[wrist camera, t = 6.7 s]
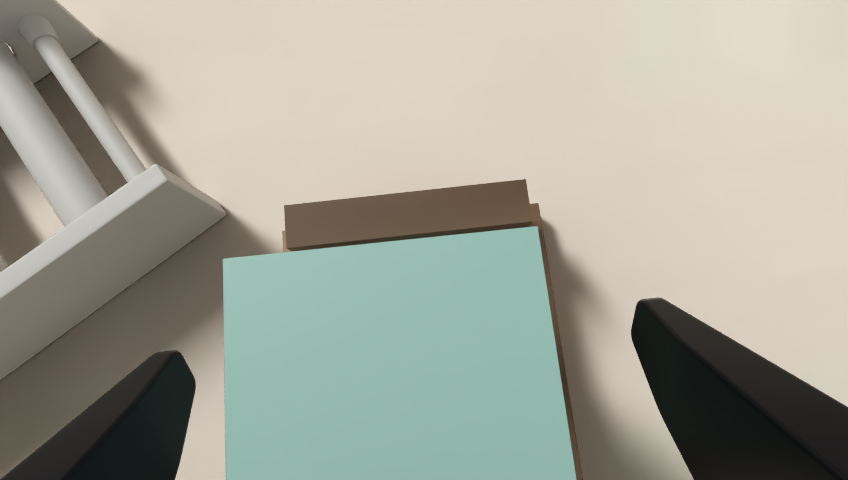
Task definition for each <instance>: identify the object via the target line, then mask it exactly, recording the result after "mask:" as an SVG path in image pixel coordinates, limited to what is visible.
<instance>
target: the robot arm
mask: <svg viewBox="0 0 848 480" xmlns="http://www.w3.org/2000/svg"><path fill="white" fill-rule="evenodd" d="M631 336H632V341H633V344H634V347H635V349H636V352H637V354H638V357H639V360H640V362H641V365H642V368H643V370H644V373H645V375H646V378H647V381H648V383H649V386H650V389H651V391H652V394H653V396H654V399H655V402H656V404H657V406H658V409H659V411H660V414H661V416H662V418H663V420H664V422H665V424H666V426H667V428H668V430H669V432H670V434H671V436H672V438H673V440H674V442H675V443H676V445H677V447H678V449H679V451H680V453H681V455H682V457H683V459H684V461H685V463H686V465H687V467H688V469H689V471H690V473H691V475H692V477H693V478H694V480H848V407H847V406H845V405H843V404H842V403H840V402H838V401H837V400H835V399H833V398H832V397H830V396H828V395H826V394H825V393H823V392H821V391H820V390H818V389H816V388H814V387H813V386H811V385H809V384H808V383H806V382H804V381H803V380H801V379H799V378H797V377H796V376H794V375H792V374H791V373H789V372H787V371H785V370H784V369H782V368H780V367H779V366H777V365H775V364H774V363H772V362H770V361H768V360H767V359H765V358H763V357H762V356H760V355H758V354H757V353H755V352H753V351H751V350H750V349H748V348H746V347H745V346H743V345H741V344H739V343H738V342H736V341H734V340H733V339H731V338H729V337H728V336H726V335H724V334H722V333H721V332H719V331H717V330H716V329H714V328H712V327H710V326H709V325H707V324H705V323H704V322H702V321H700V320H699V319H697V318H695V317H693V316H692V315H690V314H688V313H687V312H685V311H683V310H681V309H680V308H678V307H676V306H675V305H673V304H671V303H670V302H668V301H666V300H664V299H662V298H650V299H642V300H640V301H638V303H637V305H636V310H635V314H634V319H633V324H632V329H631ZM195 388H196V384H195V378H194V376H193V374H192V372H191V370H190V369H189V367H188V365H187V363H186V361H185V359H184V358H183V356H182V354H181V353H180V352H178V351H175V350H173V351H164V352H157V353H155V354H153V355H152V356H151V357H149V358H148V359H147V360H146V361H144V362H143V363H142V364H141V365H140V366H138V367H137V368H136V369H135V370H133V371H132V372H131V373H130V374H129V375H127V376H126V377H125V378H124V379H122V380H121V381H120V382H119V383H118V384H116V385H115V386H114V387H113V388H111V389H110V390H109V391H108V392H107V393H105V394H104V395H103V396H102V397H100V398H99V399H98V400H97V401H96V402H94V403H93V404H92V405H91V406H89V407H88V408H87V409H86V410H85V411H83V412H82V413H81V414H80V415H78V416H77V417H76V418H75V419H74V420H72V421H71V422H70V423H69V424H68V425H66V426H65V427H64V428H63V429H61V430H60V431H59V432H58V433H57V434H55V435H54V436H53V437H52V438H50V439H49V440H48V441H47V442H46V443H44V444H43V445H42V446H41V447H39V448H38V449H37V450H36V451H35V452H33V453H32V454H31V455H30V456H28V457H27V458H26V459H25V460H24V461H22V462H21V463H20V464H19V465H17V466H16V467H15V468H14V469H13V470H11V471H10V472H9V473H8V474H6V475H5V476H4V477H3V478H2V479H0V480H175V477H176V474H177V470H178V467H179V463H180V459H181V455H182V451H183V446H184V441H185V437H186V432H187V427H188V422H189V418H190V413H191V408H192V403H193V399H194V394H195Z"/></svg>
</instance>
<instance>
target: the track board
mask: <svg viewBox="0 0 848 480" xmlns="http://www.w3.org/2000/svg"><path fill="white" fill-rule="evenodd" d="M284 210H285V231H282V233H283V252H292V251H302V250H312V249H321V248H331V247H341V246H350V245H360V244H370V243H379V242H389V241H399V240H408V239H418V238H428V237H437V236H447V235H457V234H466V233H476V232H486V231H495V230H505V229H515V228H524V227H534V226H538V233H539V239H540V246H541V252H542V259H543V265H544V272H545V278H546V285H547V291H548V298H549V304H550V311H551V317H552V324H553V330H554V337H555V343H556V350H557V356H558V363H559V369H560V376H561V382H562V389H563V395H564V402H565V408H566V415H567V421H568V428H569V434H570V441H571V447H572V454H573V460H574V467H575V473H576V480H583V478H582V472H581V465H580V459H579V453H578V447H577V441H576V434H575V428H574V422H573V416H572V409H571V403H570V397H569V391H568V385H567V378H566V372H565V366H564V360H563V354H562V347H561V341H560V335H559V329H558V322H557V316H556V310H555V304H554V298H553V291H552V285H551V279H550V273H549V267H548V260H547V254H546V248H545V242H544V236H543V229H542V223H541V217H540V211H539V204H538V203H535V204H529V197H528V191H527V185H526V179H524V180H515V181H505V182H496V183H487V184H478V185H469V186H460V187H450V188H441V189H432V190H423V191H414V192H404V193H395V194H386V195H377V196H368V197H358V198H349V199H340V200H331V201H322V202H312V203H303V204H294V205H285V206H284Z"/></svg>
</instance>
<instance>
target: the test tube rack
mask: <svg viewBox="0 0 848 480" xmlns="http://www.w3.org/2000/svg"><path fill="white" fill-rule="evenodd" d="M98 41H99V40H98V38H97V37H96V36H95V35H94V34H93V33H92V32H91V31H90V30H89V29H88V28H87V27H85V26H84V25H83V24H82V23H81V22H80V21H79V20H78V19H76V18H75V17H74V16H73V15H72V14H71V13H70V12H68V11H67V10H66V9H65V8H64V7H63V6H62V5H61V4H59V3H58V2H57V1H56V0H0V126H1V128H2V129H3V131H4V133H5V134H6V136H7V137H8V139H9V140H10V142H11V144H12V145H13V147H14V148H15V150H16V152H17V153H18V155H19V156H20V158H21V159H22V161H23V163H24V164H25V166H26V167H27V169H28V170H29V172H30V174H31V175H32V177H33V178H34V180H35V182H36V183H37V185H38V186H39V188H40V189H41V191H42V193H43V194H44V196H45V197H46V199H47V200H48V202H49V204H50V205H51V207H52V208H53V210H54V211H55V213H56V215H57V216H58V218H59V219H60V221H61V222H62V223H63V225H64V226H65V227H64V228H63V229H61V230H60V231H59V232H57V233H56V234H54V235H53V236H51V237H50V238H49V239H47V240H46V241H44V242H43V243H42V244H40V245H39V246H37V247H36V248H34V249H33V250H32V251H30V252H29V253H27V254H26V255H24V256H23V257H22V258H20V259H19V260H17V261H16V262H15V263H13V264H12V265H10V266H9V267H7V266H6V264H5V263H4V261H3V259H2V257H1V256H0V380H1V379H3V378H4V377H6V376H7V375H8V374H10V373H11V372H12V371H14V370H15V369H17V368H18V367H19V366H21V365H22V364H23V363H25V362H26V361H27V360H29V359H30V358H32V357H33V356H34V355H36V354H37V353H38V352H40V351H41V350H43V349H44V348H45V347H47V346H48V345H49V344H51V343H52V342H53V341H55V340H56V339H58V338H59V337H60V336H62V335H63V334H64V333H66V332H67V331H69V330H70V329H71V328H73V327H74V326H75V325H77V324H78V323H79V322H81V321H82V320H84V319H85V318H86V317H88V316H89V315H90V314H92V313H93V312H95V311H96V310H97V309H99V308H100V307H101V306H103V305H104V304H105V303H107V302H108V301H110V300H111V299H112V298H114V297H115V296H116V295H118V294H119V293H121V292H122V291H123V290H125V289H126V288H127V287H129V286H130V285H131V284H133V283H134V282H136V281H137V280H138V279H140V278H141V277H142V276H144V275H145V274H147V273H148V272H149V271H151V270H152V269H153V268H155V267H156V266H157V265H159V264H160V263H162V262H163V261H164V260H166V259H167V258H168V257H170V256H171V255H173V254H174V253H175V252H177V251H178V250H179V249H181V248H182V247H184V246H185V245H186V244H188V243H189V242H190V241H192V240H193V239H194V238H196V237H197V236H199V235H200V234H201V233H203V232H204V231H205V230H207V229H208V228H210V227H211V226H212V225H214V224H215V223H216V222H218V221H219V220H220V219H222V218H223V217H225V216H226V212H225V211H224V210H223V208H222V207H221V206H220V204H219V203H218V202H217V201H216V200H214V199H213V198H211V197H210V196H208V195H206V194H205V193H203V192H202V191H200V190H198V189H197V188H195V187H193V186H192V185H190V184H189V183H187V182H185V181H184V180H182V179H180V178H179V177H177V176H176V175H174V174H172V173H171V172H169V171H168V170H166V169H164V168H163V167H161V166H159V165H158V164H154V165H152V166H151V167H149V168H148V169H147V170H146V168H145V167H144V165H143V164H142V162H141V161H140V160H139V158H138V157H137V155H136V154H135V152H134V151H133V150H132V148H131V147H130V145H129V144H128V142H127V141H126V139H125V138H124V137H123V135H122V134H121V132H120V131H119V129H118V128H117V126H116V125H115V124H114V122H113V121H112V119H111V118H110V116H109V115H108V114H107V112H106V111H105V109H104V108H103V106H102V105H101V103H100V102H99V101H98V99H97V98H96V96H95V95H94V93H93V92H92V91H91V89H90V88H89V86H88V85H87V83H86V82H85V80H84V79H83V78H82V76H81V75H80V73H79V72H78V70H77V69H76V67H75V66H74V65H73V63H72V62H71V59H72V58H74V57H75V56H77V55H78V54H80V53H81V52H83V51H84V50H86V49H87V48H89V47H90V46H92V45H93V44H95V43H96V42H98ZM6 43H7V44H8V45H9V46H10V47H11V48H12V51H13V53H14V54H13V53H12V51H11V50H10V48H9V47H8V45H7V44H6ZM51 72H53V74H54V75H55V77H56V78H57V80H58V81H59V83H60V84H61V86H62V87H63V89H64V90H65V92H66V93H67V94H68V96H69V97H70V99H71V100H72V102H73V103H74V105H75V106H76V108H77V109H78V111H79V112H80V114H81V115H82V116H83V118H84V119H85V121H86V122H87V124H88V125H89V127H90V128H91V130H92V131H93V133H94V134H95V136H96V137H97V139H98V140H99V141H100V143H101V144H102V146H103V147H104V149H105V150H106V152H107V153H108V155H109V156H110V158H111V159H112V161H113V162H114V164H115V165H116V166H117V168H118V169H119V171H120V172H121V174H122V175H123V177H124V178H125V180H126V181H127V184H125V185H124V186H122V187H121V188H120V189H118V190H117V191H115V192H114V193H112V194H111V195H110V196H107V194H106V193H105V191H104V190H103V188H102V187H101V185H100V184H99V182H98V181H97V179H96V178H95V176H94V175H93V173H92V172H91V170H90V169H89V167H88V166H87V164H86V163H85V161H84V160H83V158H82V157H81V155H80V154H79V152H78V151H77V149H76V148H75V146H74V145H73V143H72V142H71V140H70V139H69V137H68V136H67V134H66V133H65V131H64V130H63V128H62V127H61V125H60V124H59V122H58V121H57V119H56V118H55V116H54V114H53V113H52V111H51V110H50V108H49V107H48V105H47V104H46V102H45V101H44V99H43V98H42V96H41V95H40V93H39V92H38V90H37V89H36V87H35V86H34V83H36V82H37V81H39V80H40V79H42V78H43V77H45V76H46V75H48V74H49V73H51Z"/></svg>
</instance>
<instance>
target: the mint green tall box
mask: <svg viewBox="0 0 848 480" xmlns="http://www.w3.org/2000/svg"><path fill="white" fill-rule="evenodd" d="M223 309H224V384H225V458H226V480H576V473H575V467H574V460H573V454H572V447H571V441H570V434H569V428H568V421H567V415H566V408H565V402H564V395H563V389H562V382H561V376H560V369H559V363H558V356H557V350H556V343H555V337H554V330H553V324H552V317H551V311H550V304H549V298H548V291H547V285H546V278H545V272H544V265H543V259H542V252H541V246H540V239H539V233H538V226H534V227H524V228H515V229H505V230H495V231H486V232H476V233H466V234H457V235H447V236H437V237H428V238H418V239H408V240H399V241H389V242H379V243H370V244H360V245H350V246H341V247H331V248H321V249H312V250H302V251H292V252H283V253H273V254H263V255H254V256H244V257H234V258H225V259H223Z"/></svg>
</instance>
